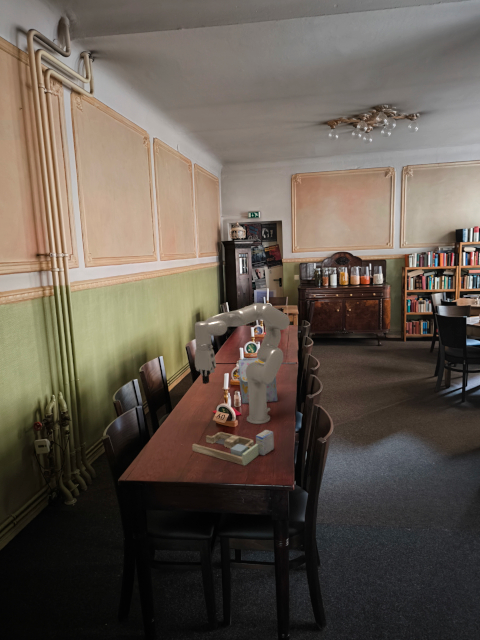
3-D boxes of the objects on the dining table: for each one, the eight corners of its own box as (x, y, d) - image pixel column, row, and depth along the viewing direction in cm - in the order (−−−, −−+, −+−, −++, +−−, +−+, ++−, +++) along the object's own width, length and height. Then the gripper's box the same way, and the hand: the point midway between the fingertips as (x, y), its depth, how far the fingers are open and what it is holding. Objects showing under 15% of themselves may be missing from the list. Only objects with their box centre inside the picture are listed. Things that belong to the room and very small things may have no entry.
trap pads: (220, 438, 211) (220, 438, 211) (250, 446, 202) (250, 446, 202) (214, 442, 208) (214, 442, 208) (245, 450, 198) (245, 450, 198)
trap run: (215, 436, 215) (215, 430, 214) (263, 448, 199) (263, 442, 199) (192, 450, 200) (192, 444, 200) (242, 465, 185) (242, 458, 184)
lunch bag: (240, 406, 255) (238, 362, 250) (239, 396, 271) (237, 355, 267) (278, 403, 255) (276, 360, 251) (275, 394, 272) (273, 353, 268)
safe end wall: (256, 454, 194) (256, 443, 193) (258, 454, 193) (258, 444, 193) (242, 465, 185) (242, 454, 184) (244, 465, 184) (244, 454, 183)
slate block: (238, 454, 195) (237, 443, 194) (248, 457, 192) (247, 446, 191) (231, 459, 191) (230, 448, 190) (241, 462, 188) (240, 451, 187)
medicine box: (266, 446, 201) (265, 429, 200) (274, 449, 198) (273, 431, 197) (256, 453, 195) (255, 435, 194) (264, 456, 192) (263, 437, 191)
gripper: (220, 346, 209) (222, 382, 212) (196, 344, 217) (199, 379, 220) (211, 349, 202) (213, 387, 205) (187, 347, 211) (189, 383, 214)
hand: (206, 382), depth 213 cm, fingers closed
